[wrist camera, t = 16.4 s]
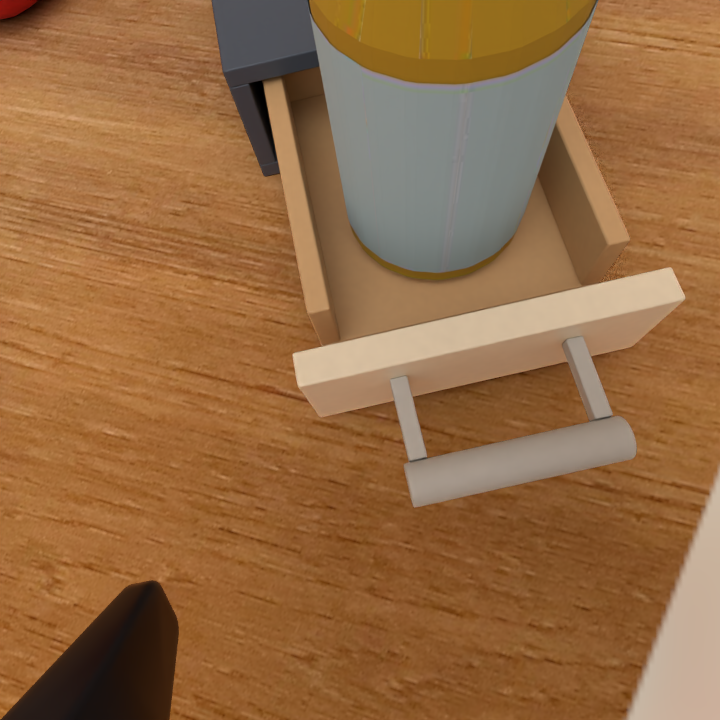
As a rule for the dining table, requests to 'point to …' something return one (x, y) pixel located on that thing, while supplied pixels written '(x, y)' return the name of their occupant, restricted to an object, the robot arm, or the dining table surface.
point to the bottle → (443, 119)
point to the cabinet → (262, 59)
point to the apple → (14, 7)
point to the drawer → (465, 306)
